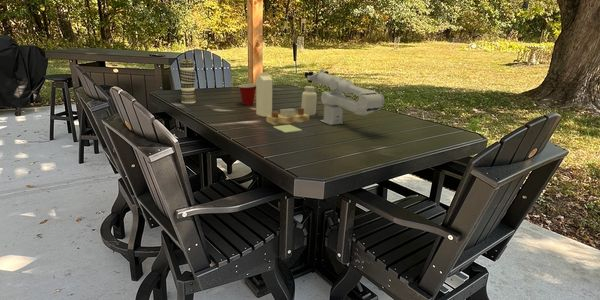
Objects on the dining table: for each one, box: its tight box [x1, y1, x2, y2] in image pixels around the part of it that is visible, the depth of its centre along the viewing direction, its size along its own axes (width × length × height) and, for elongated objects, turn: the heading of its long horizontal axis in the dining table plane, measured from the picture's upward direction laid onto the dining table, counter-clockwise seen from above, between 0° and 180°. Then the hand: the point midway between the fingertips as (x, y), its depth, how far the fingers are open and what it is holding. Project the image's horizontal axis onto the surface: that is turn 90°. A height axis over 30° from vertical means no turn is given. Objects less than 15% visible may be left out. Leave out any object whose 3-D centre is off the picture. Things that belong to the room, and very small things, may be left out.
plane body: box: [265, 107, 310, 126], centre depth 192 cm, size 20×8×6 cm, turn 122°
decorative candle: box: [178, 58, 197, 104], centre depth 228 cm, size 9×9×25 cm
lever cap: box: [279, 108, 297, 117], centre depth 191 cm, size 7×4×3 cm, turn 122°
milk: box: [255, 72, 273, 117], centre depth 202 cm, size 6×6×22 cm
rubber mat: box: [273, 124, 303, 134], centre depth 178 cm, size 11×9×1 cm
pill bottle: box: [300, 85, 318, 117], centre depth 208 cm, size 8×8×15 cm
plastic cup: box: [238, 83, 256, 107], centre depth 229 cm, size 11×11×12 cm
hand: (311, 74), depth 203 cm, fingers open, 7 cm apart
